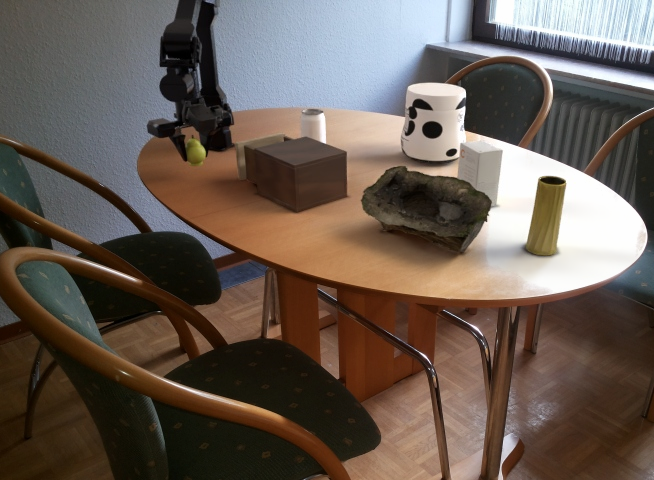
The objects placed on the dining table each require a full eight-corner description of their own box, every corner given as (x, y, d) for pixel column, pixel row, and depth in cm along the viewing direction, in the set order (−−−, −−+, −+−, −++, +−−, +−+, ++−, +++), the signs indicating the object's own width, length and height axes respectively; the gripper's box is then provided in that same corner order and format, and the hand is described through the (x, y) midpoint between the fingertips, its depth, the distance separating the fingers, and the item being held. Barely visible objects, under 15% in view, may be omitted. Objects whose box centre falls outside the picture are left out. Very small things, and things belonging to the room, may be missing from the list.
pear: (180, 165, 151) (176, 135, 147) (194, 159, 155) (190, 130, 151) (198, 169, 149) (194, 139, 146) (211, 162, 153) (208, 133, 150)
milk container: (476, 158, 175) (483, 90, 165) (436, 172, 164) (441, 100, 154) (428, 143, 185) (432, 78, 175) (386, 156, 174) (388, 87, 164)
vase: (521, 242, 130) (532, 174, 122) (551, 242, 130) (563, 174, 123) (529, 256, 125) (541, 186, 117) (560, 255, 125) (573, 186, 118)
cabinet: (257, 193, 148) (253, 148, 142) (307, 179, 157) (306, 136, 151) (296, 212, 139) (294, 165, 134) (347, 196, 148) (347, 151, 143)
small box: (496, 205, 146) (503, 149, 139) (473, 209, 144) (479, 152, 137) (477, 193, 152) (483, 139, 145) (454, 197, 150) (459, 142, 143)
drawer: (229, 174, 155) (225, 138, 151) (274, 163, 163) (272, 128, 159) (271, 195, 145) (269, 157, 140) (318, 181, 153) (317, 145, 149)
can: (328, 154, 174) (327, 109, 168) (323, 161, 168) (322, 115, 162) (304, 152, 174) (302, 107, 168) (299, 160, 169) (297, 114, 163)
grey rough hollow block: (482, 282, 125) (520, 216, 126) (458, 257, 114) (500, 185, 115) (377, 233, 140) (412, 175, 141) (348, 207, 129) (386, 144, 130)
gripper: (165, 104, 133) (176, 177, 141) (242, 92, 144) (248, 159, 153) (140, 94, 140) (152, 164, 148) (215, 83, 151) (222, 148, 159)
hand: (195, 159), depth 152 cm, fingers closed on pear, 5 cm apart
